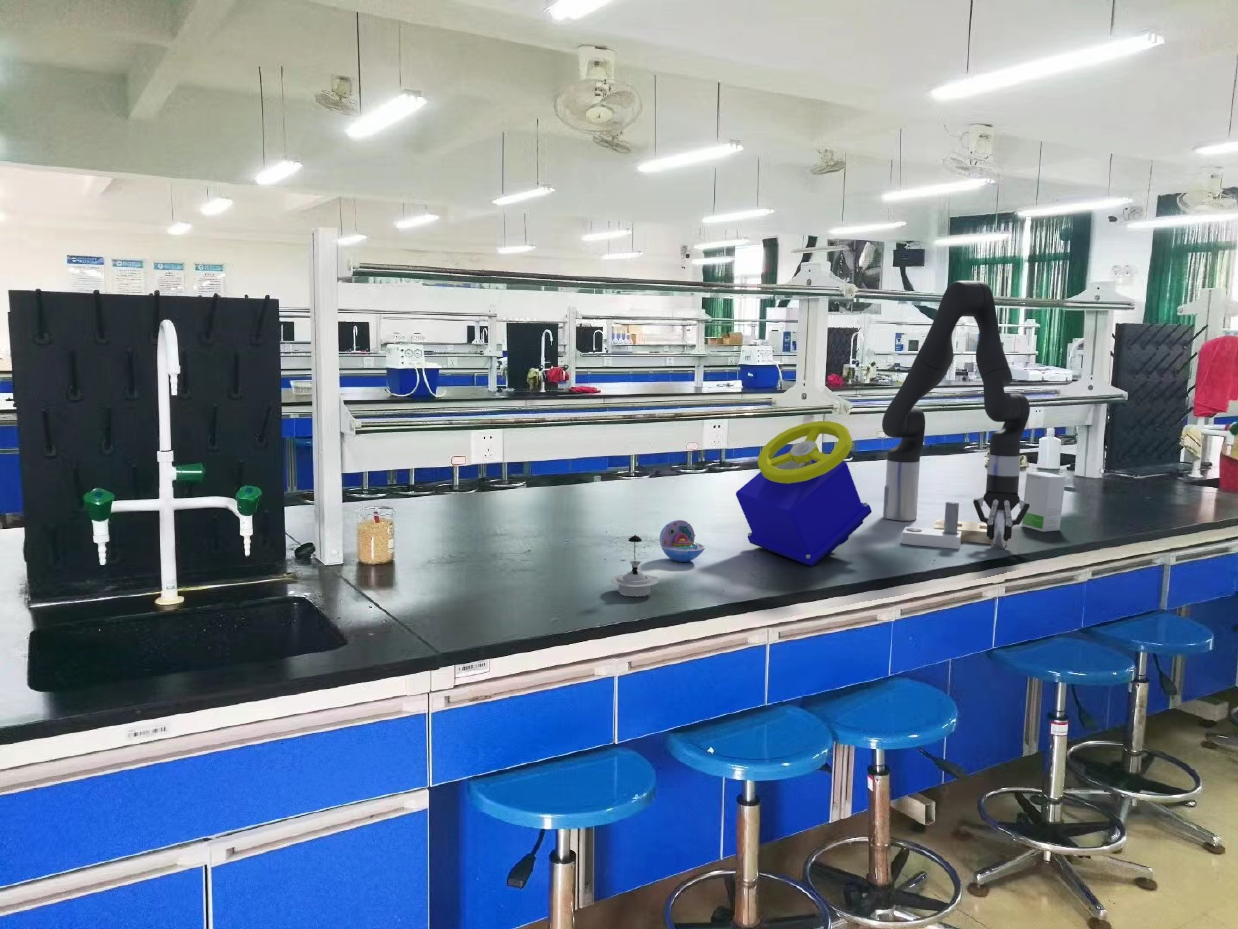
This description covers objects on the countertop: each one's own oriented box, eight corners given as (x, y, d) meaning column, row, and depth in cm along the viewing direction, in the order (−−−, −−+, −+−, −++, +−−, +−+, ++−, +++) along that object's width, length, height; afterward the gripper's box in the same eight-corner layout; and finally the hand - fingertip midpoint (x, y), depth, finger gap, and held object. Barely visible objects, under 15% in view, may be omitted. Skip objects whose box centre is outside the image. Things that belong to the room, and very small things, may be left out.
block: (901, 543, 234) (904, 502, 232) (904, 537, 241) (907, 497, 240) (959, 549, 228) (962, 506, 227) (960, 542, 236) (963, 501, 234)
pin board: (933, 538, 240) (933, 527, 240) (936, 529, 251) (936, 519, 251) (1006, 545, 233) (1007, 533, 233) (1006, 535, 244) (1007, 525, 244)
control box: (824, 505, 239) (788, 411, 226) (904, 529, 217) (869, 427, 204) (757, 564, 230) (716, 470, 217) (834, 595, 208) (793, 493, 195)
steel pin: (991, 548, 230) (993, 509, 228) (991, 545, 232) (993, 507, 231) (1004, 549, 228) (1007, 510, 227) (1004, 546, 231) (1007, 508, 230)
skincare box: (1020, 526, 257) (1024, 472, 255) (1037, 524, 259) (1041, 471, 257) (1044, 532, 249) (1048, 476, 247) (1062, 530, 252) (1066, 475, 250)
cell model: (679, 569, 207) (680, 528, 205) (650, 558, 217) (651, 518, 215) (714, 563, 212) (715, 523, 210) (684, 553, 222) (685, 514, 220)
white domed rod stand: (662, 539, 181) (655, 529, 191) (613, 540, 180) (608, 530, 190) (662, 599, 183) (655, 585, 193) (612, 600, 182) (608, 586, 192)
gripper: (972, 472, 227) (968, 540, 229) (1034, 476, 222) (1029, 545, 224) (973, 469, 234) (969, 534, 236) (1033, 472, 228) (1028, 539, 231)
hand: (998, 539), depth 230 cm, fingers closed on steel pin, 3 cm apart
